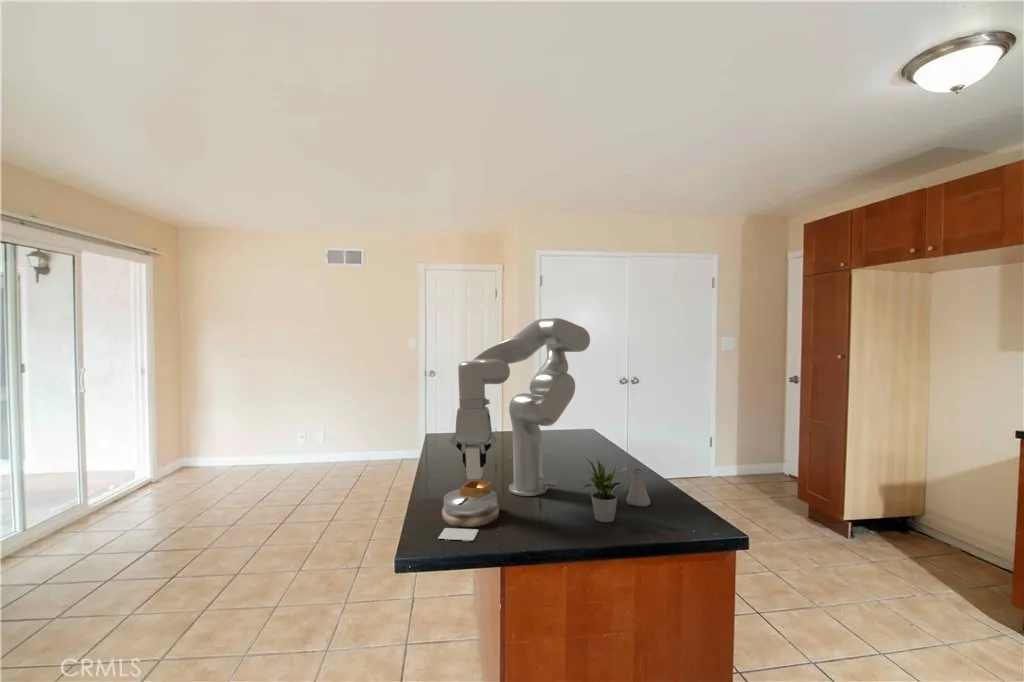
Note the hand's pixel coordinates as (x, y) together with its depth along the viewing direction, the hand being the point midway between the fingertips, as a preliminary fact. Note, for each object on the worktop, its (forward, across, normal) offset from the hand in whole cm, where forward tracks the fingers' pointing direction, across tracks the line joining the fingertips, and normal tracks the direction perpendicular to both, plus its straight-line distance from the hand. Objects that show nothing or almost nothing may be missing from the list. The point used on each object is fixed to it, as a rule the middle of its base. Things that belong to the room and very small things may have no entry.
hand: (474, 465), depth 128 cm
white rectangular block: (+3, 0, 0) cm, 3 cm away
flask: (+14, -48, -9) cm, 50 cm away
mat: (+12, 0, +18) cm, 22 cm away
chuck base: (+13, 0, +5) cm, 14 cm away
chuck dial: (+10, 0, +5) cm, 11 cm away
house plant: (+13, -36, +3) cm, 38 cm away
